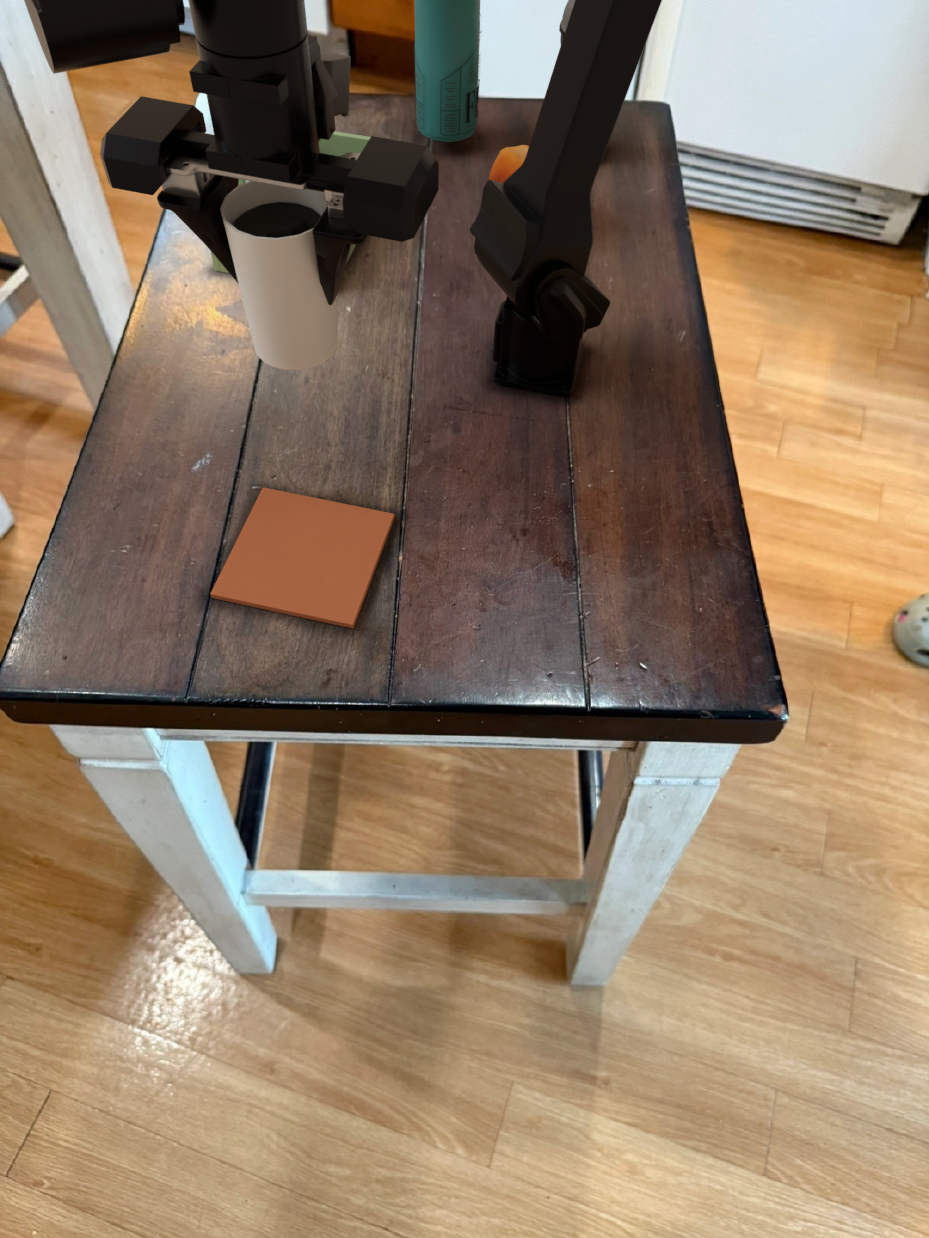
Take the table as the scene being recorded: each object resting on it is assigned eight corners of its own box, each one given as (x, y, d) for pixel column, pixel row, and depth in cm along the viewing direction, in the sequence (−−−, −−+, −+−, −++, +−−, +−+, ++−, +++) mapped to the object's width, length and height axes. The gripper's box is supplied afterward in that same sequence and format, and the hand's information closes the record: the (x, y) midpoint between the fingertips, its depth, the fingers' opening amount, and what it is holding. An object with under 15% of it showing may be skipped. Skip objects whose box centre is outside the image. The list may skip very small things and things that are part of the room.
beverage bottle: (470, 161, 94) (479, -71, 77) (407, 152, 95) (402, -80, 78) (483, 129, 98) (493, -99, 81) (421, 121, 98) (420, -108, 82)
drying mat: (394, 518, 67) (394, 513, 66) (353, 629, 61) (353, 624, 61) (263, 491, 68) (262, 486, 67) (211, 598, 62) (209, 593, 62)
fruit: (453, 213, 86) (488, 124, 82) (501, 225, 92) (535, 142, 88) (516, 251, 83) (555, 160, 79) (561, 261, 89) (599, 177, 85)
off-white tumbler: (357, 322, 65) (348, 187, 57) (324, 383, 61) (308, 249, 53) (269, 303, 66) (247, 168, 58) (231, 363, 62) (201, 227, 54)
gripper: (466, -6, 51) (459, 248, 64) (153, -54, 53) (207, 201, 66) (408, 89, 45) (413, 350, 57) (56, 31, 47) (136, 294, 60)
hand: (289, 293), depth 60 cm, fingers closed on off-white tumbler, 5 cm apart
